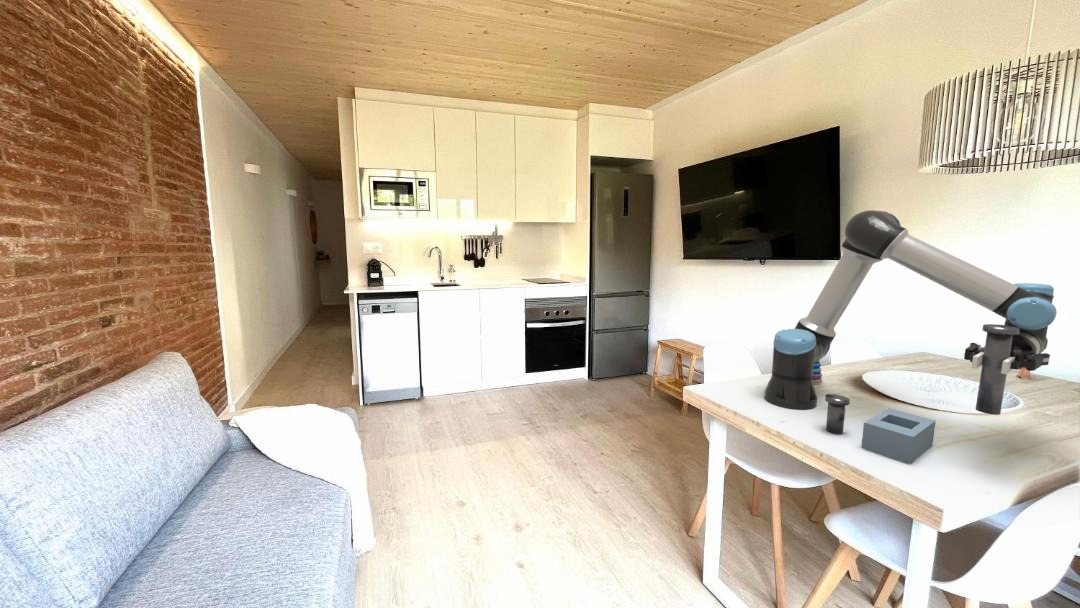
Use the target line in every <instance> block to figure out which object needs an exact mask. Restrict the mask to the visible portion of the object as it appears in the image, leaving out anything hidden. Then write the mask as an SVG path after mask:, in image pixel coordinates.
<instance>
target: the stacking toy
mask: <svg viewBox="0 0 1080 608" xmlns="http://www.w3.org/2000/svg"><path fill="white" fill-rule="evenodd" d="M820 361H821V359H819V360H817V361H816V362H814V366H813V377H812V382H813V385H820V384H822V383H823V378H822V377H823V373H822V368H821V362H820Z"/></svg>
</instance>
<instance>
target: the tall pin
mask: <svg viewBox="0 0 1080 608" xmlns="http://www.w3.org/2000/svg"><path fill="white" fill-rule="evenodd" d="M982 331H983V332H984V333H986V337H985V342H984V343H985V345H984V346H985V350H984V356H983V363H982V365H981V370H980V377H979V385H978V391H977V397H976V402H975V403H976V404H975V410H976V411H977V412H980V413H984V414H986V415H987V414H988V415H993V416H994V415H995V416H996V415H997V416H998V415H1001V412H1002V405H1003V400H1004V399H1003V398H1004V395H1005V394H1004V392H1005V389H1006V381H1007V375H1008V373H1007V374H1001V370H1002V364H1003V361H1004V360H1006V359H1007V358H1009V357H1010V351H1011V345H1012V338H1013V335H1018V334H1019V328H1017V327H1013V326H1006V325H1004V324H997V323H996V324H993V323H992V324H991V323H990V324H988V323H987V324H982Z"/></svg>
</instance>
